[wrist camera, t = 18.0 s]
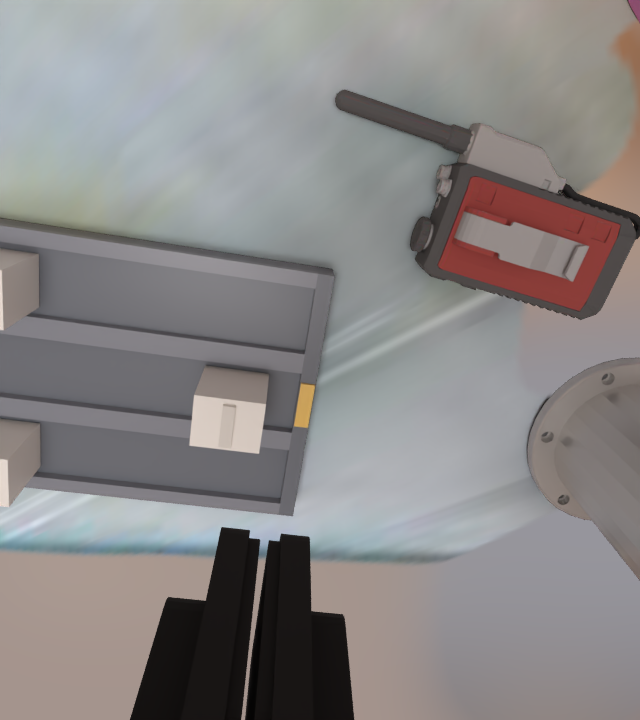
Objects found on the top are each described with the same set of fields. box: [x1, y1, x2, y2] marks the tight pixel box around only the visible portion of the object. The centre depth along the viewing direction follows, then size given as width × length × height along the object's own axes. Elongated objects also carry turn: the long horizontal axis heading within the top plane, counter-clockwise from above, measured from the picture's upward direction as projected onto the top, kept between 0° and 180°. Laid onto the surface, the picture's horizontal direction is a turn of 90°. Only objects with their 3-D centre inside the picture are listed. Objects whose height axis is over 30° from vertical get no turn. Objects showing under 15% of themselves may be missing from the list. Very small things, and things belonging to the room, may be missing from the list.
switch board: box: [0, 218, 335, 516], centre depth 36 cm, size 24×17×2 cm
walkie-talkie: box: [335, 90, 640, 320], centre depth 33 cm, size 9×4×20 cm
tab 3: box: [189, 365, 269, 454], centre depth 34 cm, size 4×3×5 cm
